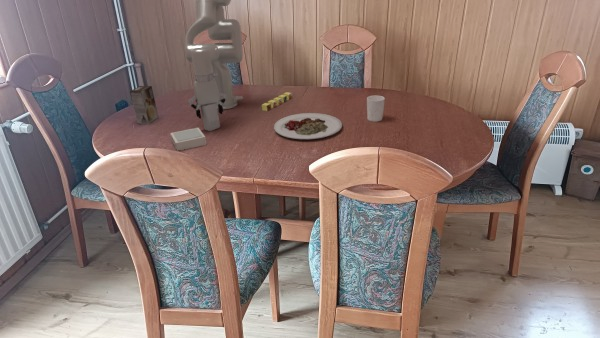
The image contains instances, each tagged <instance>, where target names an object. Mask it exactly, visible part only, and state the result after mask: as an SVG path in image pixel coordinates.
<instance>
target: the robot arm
mask: <svg viewBox="0 0 600 338" xmlns="http://www.w3.org/2000/svg"><path fill="white" fill-rule="evenodd" d="M231 2H232V0H195V21H194V22H193V23H192V24H191V26H190V27H189V28H188V30H187V32H186V33H185V36H184V37H185V39H184V56H185V58H186V60H187V61H188V62H190V63H192V67H193V71H194V78H195V81H193V92H194V95H193V96H192V97H190V98H189V99H188V100H187V103H188V104H189V106H190V107H191V108H193V109H194V110H195V114H196V117H197V118H198V119H202V112H201V105H206V104H211V103H217V110H218V114H220V115H223V112H224V110H229V109H233V108H236V107H237V106H238V101H243V100H244V97H243V96H242V95H241V96H239V95H236V96H235V95H234V90H233V82H232V73H231V70H230V68H229V66H227V65H226V64H234V63H235V64H237V63H241V62H242V61H243V57H244V55H243V39H242V29H241V25H240V22H239V21H238V20H237V19H233V18H226V17H225V8H224V7H227V6H229V5H230V3H231ZM225 18H226V19H225ZM205 31H207V35H208V37H209V39H211V40H212V41H231V42H218V43H194V42H195V39H196V38H197V37H198V36H199V35H200V34H202V33H204V32H205ZM194 101H195V103H196V104H194V103H193V102H194Z"/></svg>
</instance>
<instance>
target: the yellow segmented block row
mask: <svg viewBox="0 0 600 338" xmlns="http://www.w3.org/2000/svg"><path fill="white" fill-rule="evenodd" d="M292 99H293V93H292V92H287V91H286V92H284V93H283V94H281V95H278V97H277V96H276V97H274V98H273V99H270V100H268V101H267V102H264V103H263V104H261V110H262V111H264V112H268V111H270V110H272V109H274V108H276V107H277V106H280V105H282V104H283V103H285V102H288V100H292Z"/></svg>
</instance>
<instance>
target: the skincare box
mask: <svg viewBox="0 0 600 338" xmlns="http://www.w3.org/2000/svg"><path fill="white" fill-rule="evenodd" d="M200 112H201V118H202V121H203V128H204V130H205V131H208V132H212V131H214V130H216V129H219V128H221V124H220V123H221V122H220V118H219V109H217V103H211V104H206V105H201V106H200Z"/></svg>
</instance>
